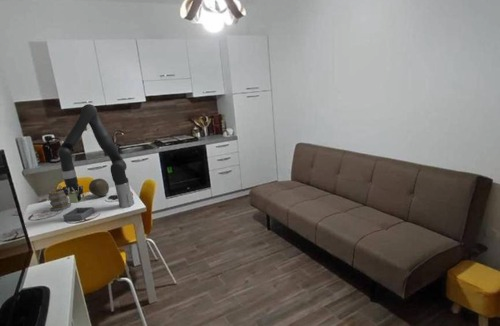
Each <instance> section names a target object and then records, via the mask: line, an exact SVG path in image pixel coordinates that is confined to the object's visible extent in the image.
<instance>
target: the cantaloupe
mask: <svg viewBox="0 0 500 326" xmlns="http://www.w3.org/2000/svg"><path fill="white" fill-rule="evenodd" d="M88 190H89V192H90V194H92V195H93V196H96V197H104V196H106V195H107V194H108V193H109V192H110V187H109V183H108V182H107V180H105V179H103V178H95V179H92V180H91V181H90V182H89V184H88Z"/></svg>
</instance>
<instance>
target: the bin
mask: <svg viewBox="0 0 500 326" xmlns="http://www.w3.org/2000/svg"><path fill="white" fill-rule="evenodd" d="M93 214H95V209H94V206H90V207H89V206H88V207H76V208H74V209H72V210H70V211H68V212H67V213H65V214H64V215H62V216H63V221H64V222H72V221H73V222H75V221H77V222H78V221H79V222H80V221H83V220H85V219H87V218H89V217H90V216H92V215H93Z"/></svg>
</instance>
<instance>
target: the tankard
mask: <svg viewBox="0 0 500 326" xmlns="http://www.w3.org/2000/svg"><path fill="white" fill-rule="evenodd" d="M62 188H63V186H62V185H58V188H55V189H52V190H50V191H49V192H48V196H47V197H48V200H50V202H49V205H50V206H51V208H50V211H51V212H60V211H64V210H66V209H68V208H70V207H71V206H72V203H70V200H69V196H68V195H67V196H66V195H65V193H64V191H63V189H62Z"/></svg>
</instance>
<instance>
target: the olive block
mask: <svg viewBox="0 0 500 326" xmlns="http://www.w3.org/2000/svg"><path fill="white" fill-rule="evenodd" d="M77 193H78V192H77ZM67 197H68V198H69V203H71V204H77V203H79V202H81V201H83V199H82V197H81V200H80V201H78V198H77V195H76V193H74V192H72V193H71V194H69V195H67Z"/></svg>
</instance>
